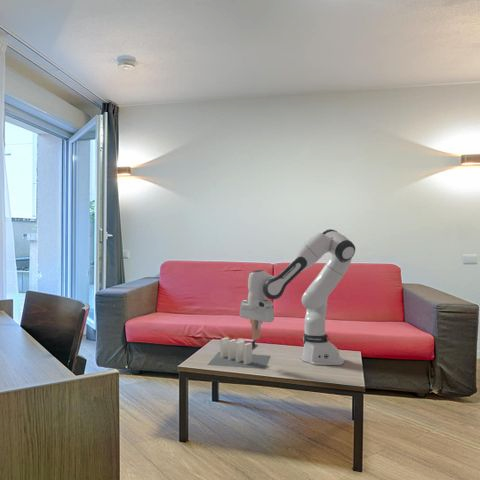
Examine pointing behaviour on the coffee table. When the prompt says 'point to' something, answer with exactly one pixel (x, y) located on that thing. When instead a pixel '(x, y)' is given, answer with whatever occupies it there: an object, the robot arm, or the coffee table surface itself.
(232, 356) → the domino
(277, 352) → the coffee table surface
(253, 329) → the domino
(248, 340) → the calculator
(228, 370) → the coffee table surface
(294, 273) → the robot arm
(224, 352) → the domino
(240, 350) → the domino
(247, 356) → the domino
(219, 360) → the domino mat
